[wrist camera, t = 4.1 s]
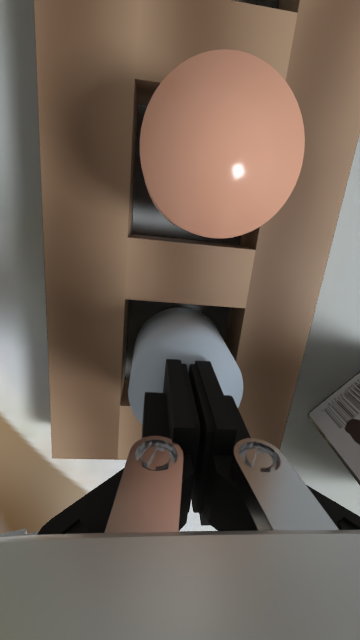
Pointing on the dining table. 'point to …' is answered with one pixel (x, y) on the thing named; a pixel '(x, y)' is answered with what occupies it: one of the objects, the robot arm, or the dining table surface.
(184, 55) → the walnut board
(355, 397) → the coffee box
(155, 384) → the blue egg
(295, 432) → the dining table surface
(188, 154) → the salmon domed cylinder
